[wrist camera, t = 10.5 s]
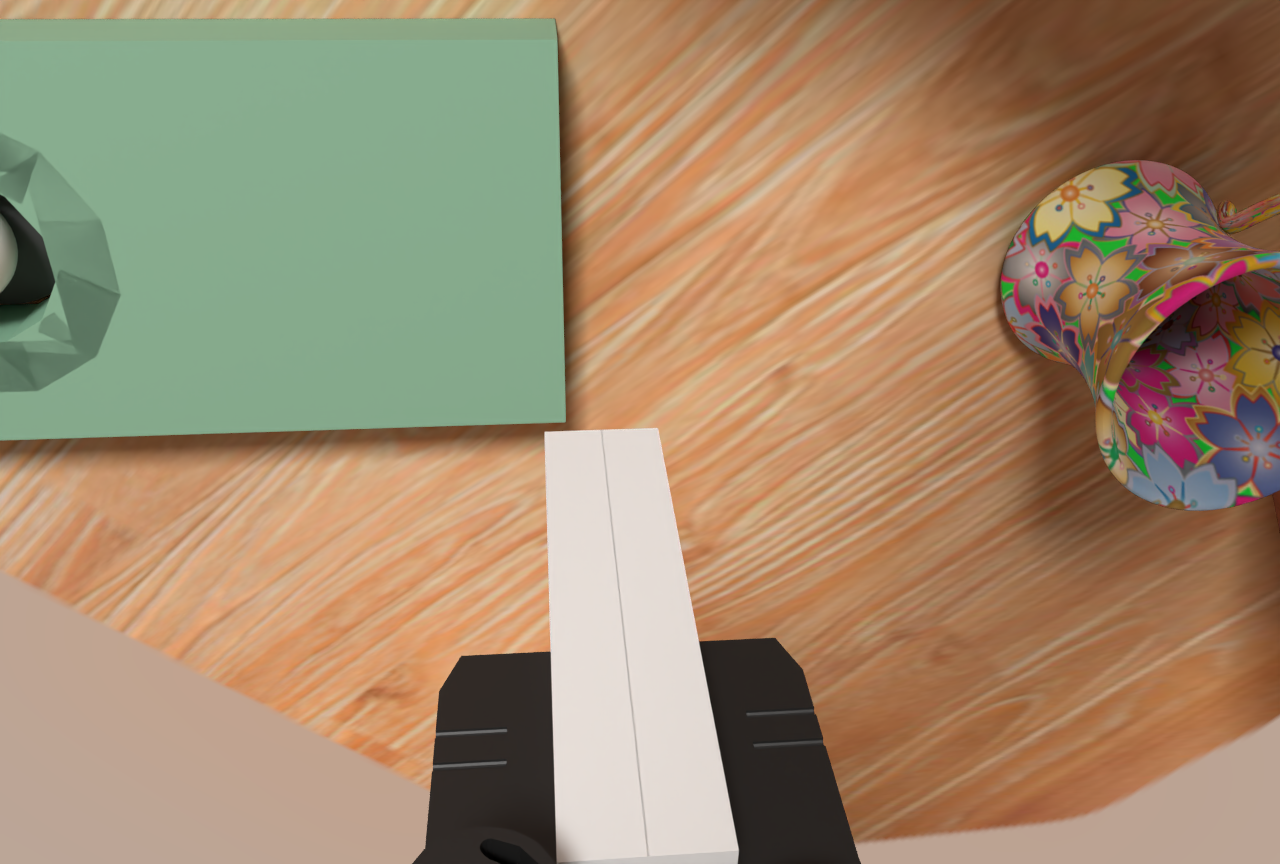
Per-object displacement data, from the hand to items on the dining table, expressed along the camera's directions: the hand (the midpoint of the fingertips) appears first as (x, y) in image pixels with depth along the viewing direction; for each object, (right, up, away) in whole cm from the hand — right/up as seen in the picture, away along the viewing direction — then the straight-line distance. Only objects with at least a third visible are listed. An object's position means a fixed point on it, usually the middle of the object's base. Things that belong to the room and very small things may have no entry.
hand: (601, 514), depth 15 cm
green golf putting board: (-15, +9, +24) cm, 30 cm away
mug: (+19, +9, +28) cm, 35 cm away
